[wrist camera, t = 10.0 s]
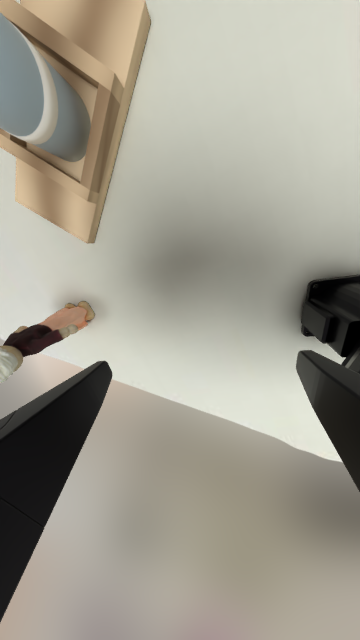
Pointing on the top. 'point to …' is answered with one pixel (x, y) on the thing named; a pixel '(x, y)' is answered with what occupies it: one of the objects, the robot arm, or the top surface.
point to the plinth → (94, 89)
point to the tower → (39, 99)
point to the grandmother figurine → (42, 336)
